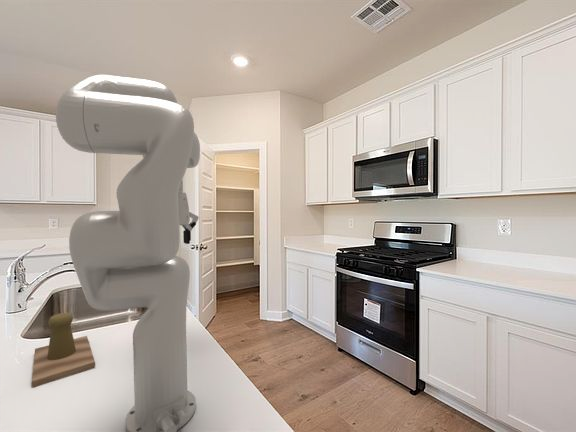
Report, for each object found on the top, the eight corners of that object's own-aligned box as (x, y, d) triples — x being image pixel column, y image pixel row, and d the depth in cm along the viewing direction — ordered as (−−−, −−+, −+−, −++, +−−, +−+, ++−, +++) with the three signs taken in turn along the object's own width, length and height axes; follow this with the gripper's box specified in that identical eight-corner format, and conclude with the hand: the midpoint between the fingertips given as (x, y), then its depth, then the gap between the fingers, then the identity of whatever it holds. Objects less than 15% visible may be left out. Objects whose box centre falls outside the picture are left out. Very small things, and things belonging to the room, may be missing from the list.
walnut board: (95, 367, 71) (94, 361, 71) (31, 387, 63) (31, 381, 63) (87, 340, 86) (86, 335, 86) (35, 353, 79) (35, 348, 79)
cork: (59, 361, 72) (57, 319, 72) (41, 358, 73) (39, 317, 73) (81, 349, 78) (80, 311, 77) (64, 347, 79) (63, 309, 79)
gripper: (141, 185, 74) (142, 249, 74) (202, 188, 85) (203, 243, 86) (134, 187, 79) (135, 246, 80) (192, 189, 91) (193, 241, 91)
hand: (170, 245), depth 83 cm, fingers open, 9 cm apart
